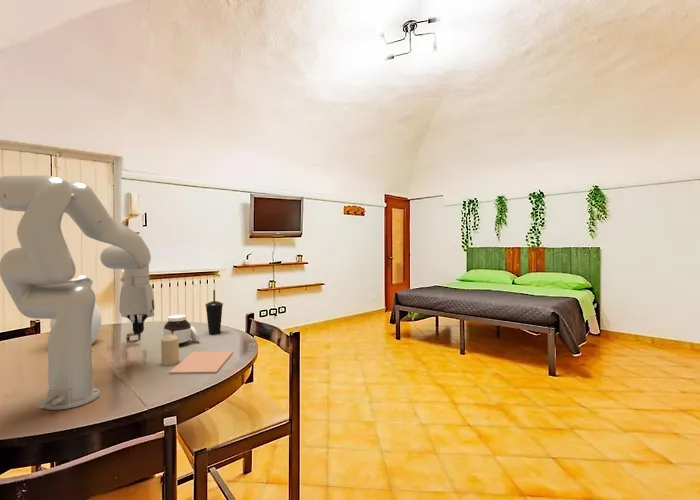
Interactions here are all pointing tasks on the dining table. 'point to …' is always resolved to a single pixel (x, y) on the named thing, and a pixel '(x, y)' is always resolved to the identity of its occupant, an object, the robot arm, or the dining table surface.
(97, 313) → the pitcher
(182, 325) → the spread jar
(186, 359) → the mat
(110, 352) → the dining table surface
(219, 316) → the drinking cup
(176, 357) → the candle
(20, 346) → the dining table surface
